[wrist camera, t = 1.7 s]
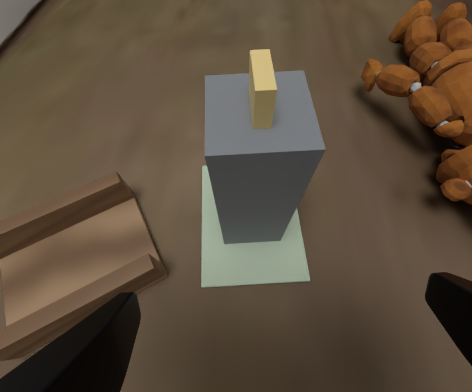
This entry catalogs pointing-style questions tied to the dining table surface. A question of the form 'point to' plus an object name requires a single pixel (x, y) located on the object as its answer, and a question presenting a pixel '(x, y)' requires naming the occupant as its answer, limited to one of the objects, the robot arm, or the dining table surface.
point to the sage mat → (248, 252)
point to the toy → (436, 85)
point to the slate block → (259, 148)
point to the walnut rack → (72, 261)
